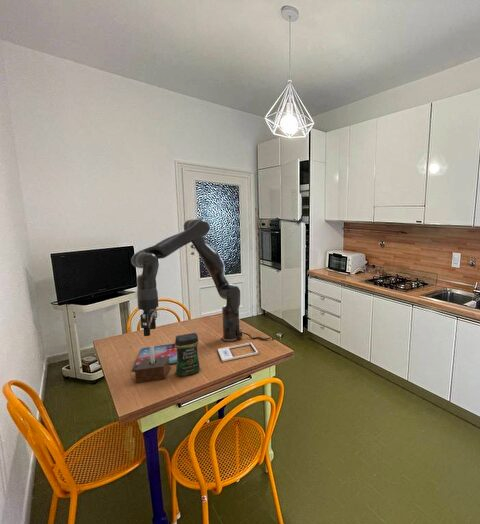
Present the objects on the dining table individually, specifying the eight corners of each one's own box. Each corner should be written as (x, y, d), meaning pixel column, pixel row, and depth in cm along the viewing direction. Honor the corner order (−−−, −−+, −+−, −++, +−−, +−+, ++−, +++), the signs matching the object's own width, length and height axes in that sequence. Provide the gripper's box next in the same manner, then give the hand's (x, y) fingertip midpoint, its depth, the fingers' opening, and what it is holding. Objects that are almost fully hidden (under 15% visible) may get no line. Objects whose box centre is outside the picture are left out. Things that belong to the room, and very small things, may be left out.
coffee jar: (177, 379, 131) (175, 339, 128) (175, 371, 137) (173, 333, 135) (201, 372, 137) (199, 335, 134) (198, 365, 143) (196, 329, 141)
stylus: (156, 373, 135) (154, 345, 133) (155, 375, 134) (153, 346, 132) (152, 374, 134) (150, 345, 133) (151, 376, 133) (149, 346, 131)
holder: (169, 367, 141) (168, 355, 140) (164, 378, 131) (163, 366, 130) (143, 370, 137) (142, 358, 136) (135, 382, 127) (134, 369, 126)
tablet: (133, 371, 136) (132, 369, 136) (141, 349, 158) (141, 348, 158) (180, 362, 145) (180, 361, 145) (182, 343, 167) (182, 342, 167)
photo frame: (217, 348, 159) (251, 342, 169) (217, 350, 160) (251, 344, 169) (222, 359, 147) (258, 352, 157) (222, 361, 147) (258, 354, 157)
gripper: (153, 301, 124) (155, 337, 126) (161, 293, 137) (163, 326, 139) (131, 302, 121) (134, 339, 123) (143, 293, 134) (145, 327, 137)
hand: (150, 332), depth 131 cm, fingers open, 8 cm apart
